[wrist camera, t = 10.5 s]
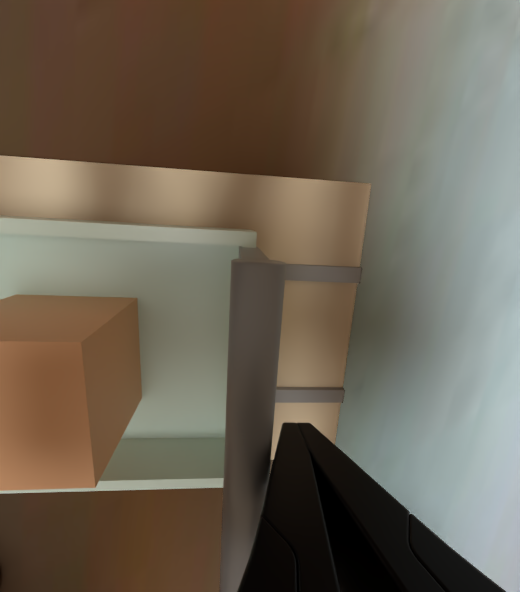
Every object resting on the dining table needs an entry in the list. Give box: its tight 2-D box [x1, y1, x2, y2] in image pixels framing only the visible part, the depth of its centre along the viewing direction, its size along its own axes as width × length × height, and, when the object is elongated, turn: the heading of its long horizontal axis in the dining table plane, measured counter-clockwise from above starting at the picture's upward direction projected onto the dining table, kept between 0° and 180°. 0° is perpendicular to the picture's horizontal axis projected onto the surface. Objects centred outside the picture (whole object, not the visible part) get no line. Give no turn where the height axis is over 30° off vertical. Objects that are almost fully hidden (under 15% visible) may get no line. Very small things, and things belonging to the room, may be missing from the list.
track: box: [0, 156, 371, 460], centre depth 14 cm, size 27×16×4 cm, turn 87°
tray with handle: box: [0, 215, 286, 592], centre depth 11 cm, size 12×11×9 cm
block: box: [0, 294, 142, 491], centre depth 11 cm, size 5×5×5 cm
